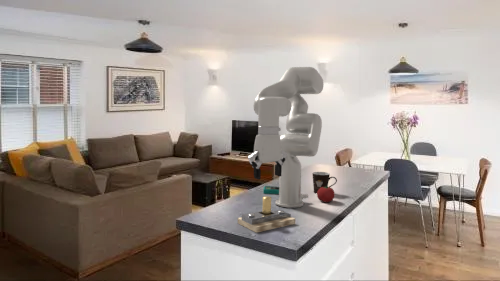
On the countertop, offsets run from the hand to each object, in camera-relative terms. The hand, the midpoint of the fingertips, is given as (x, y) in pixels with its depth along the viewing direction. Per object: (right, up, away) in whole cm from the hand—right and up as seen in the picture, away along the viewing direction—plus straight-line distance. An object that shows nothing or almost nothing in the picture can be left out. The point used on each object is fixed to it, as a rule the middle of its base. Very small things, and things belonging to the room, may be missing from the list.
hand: (267, 177), depth 138 cm
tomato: (+29, -15, +35) cm, 47 cm away
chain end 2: (+2, -15, +3) cm, 16 cm away
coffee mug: (+30, -13, +50) cm, 60 cm away
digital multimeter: (+7, -13, +51) cm, 53 cm away
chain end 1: (-3, -16, 0) cm, 16 cm away
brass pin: (0, -18, +1) cm, 18 cm away
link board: (0, -18, +1) cm, 18 cm away
